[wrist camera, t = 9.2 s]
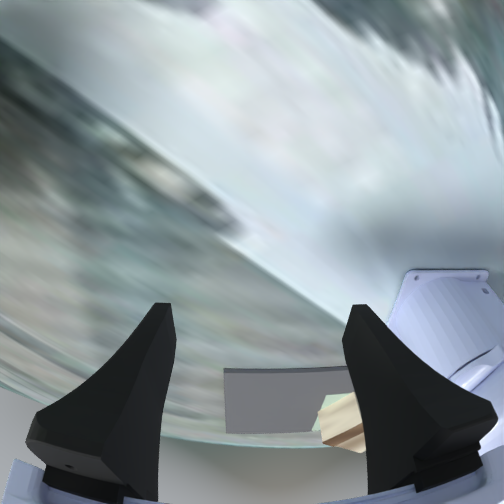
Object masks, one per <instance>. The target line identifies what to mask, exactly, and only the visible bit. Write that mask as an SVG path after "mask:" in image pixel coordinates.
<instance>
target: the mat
mask: <svg viewBox="0 0 504 504" xmlns="http://www.w3.org/2000/svg"><path fill="white" fill-rule="evenodd" d="M352 392H355V390H354V387H353V384H352V381H351V377H350V374H349V371H348V368H347V366H343V367H326V368H304V369H224V395H225V417H226V433H237V434H264V433H293V432H309V431H321V429H320V423H319V417H318V411H320V410H322V409H324V408H325V407H327V406H329V405H331V404H333V403H335V402H336V401H338V400H340V399H342V398H343V397H345V396H347V395H349V394H350V393H352Z"/></svg>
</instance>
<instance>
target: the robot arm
mask: <svg viewBox="0 0 504 504" xmlns="http://www.w3.org/2000/svg"><path fill="white" fill-rule="evenodd" d="M416 276H417V277H416ZM488 276H489V273H488V271H487V270H411V271H409V272H407V273H406V275H405V278H404V280H403V283H402V286H401V289H400V292H399V294H398V297H397V300H396V302H395V305H394V307H393V310H392V313H391V315H390V318H389V320H388V323H387V325H385V323H384V322H383V321H382V320H381V319H380V318H379V317H378V316H377V315H376V314H375V313H374V312H373V311H372V309H371V308H370V307H369V306H368V305H367V304H359V305H352V309H351V312H350V315H349V319H348V322H347V325H346V328H345V332H344V335H343V338H342V343H343V349H344V355H345V361H346V364H347V368H348V371H349V374H350V377H351V381H352V384H353V387H354V390H355V394H356V397H357V400H358V404H359V408H360V412H361V417H362V423H363V430H364V437H365V446H366V456H367V472H368V495H367V496H362V497H357V498H351V499H346V500H340V501H333V502H327V503H318V504H504V304H503V302H502V301H501V300H500V299H499V297H498V296H497V295H496V294H495V292H494V291H493V290H492V289H491V287H490V286H489V285H488V284H487V283H486V281H487V279H488ZM415 277H416V278H415ZM176 340H177V339H176V333H175V327H174V321H173V315H172V309H171V303H155V304H154V305H153V306H152V307H151V309H150V310H149V312H148V313H147V314H146V316H145V317H144V318H143V320H142V321H141V322H140V324H139V325H138V326H137V328H136V329H135V330H134V331H133V333H132V334H131V335H130V336H129V338H128V339H127V340H126V341H125V343H124V344H123V345H122V346H121V347H120V348H119V349H118V350H117V352H116V353H115V354H114V355H113V356H112V357H111V358H110V359H109V360H108V361H107V362H106V363H105V364H104V365H103V366H102V367H101V368H100V369H99V370H98V371H97V372H96V373H94V374H93V375H92V376H91V377H90V378H89V379H87V380H86V381H85V382H84V383H82V384H81V385H80V386H79V387H77V388H76V389H74V390H73V391H72V392H70V393H69V394H67V395H66V396H64V397H63V398H61V399H60V400H58V401H56V402H55V403H53V404H51V405H49V406H47V407H46V408H44V409H42V410H40V411H38V412H37V413H36V414H35V417H34V419H33V421H32V424H31V427H30V430H29V433H28V435H27V438H26V441H25V443H26V445H27V447H28V448H29V449H30V450H31V451H32V452H33V453H34V454H35V455H36V456H37V457H38V458H40V459H41V460H42V461H43V462H44V463H45V464H46V469H45V471H44V470H42V469H40V468H38V467H36V466H33V465H31V464H28V463H25V462H23V461H21V460H18V459H14V461H13V464H12V467H11V470H10V473H9V477H8V480H7V484H6V487H5V491H4V495H3V499H2V503H1V504H167V503H160V502H158V461H159V444H160V432H161V421H162V413H163V408H164V403H165V399H166V394H167V390H168V386H169V381H170V377H171V373H172V368H173V364H174V358H175V349H176Z"/></svg>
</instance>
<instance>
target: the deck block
mask: <svg viewBox="0 0 504 504" xmlns="http://www.w3.org/2000/svg"><path fill="white" fill-rule="evenodd" d="M318 417H319V423H320V429H321V435H322V441H323V444H326V445H329V446H333V447H334V446H338V447H341V448H344V449H348V450H352V451H355V452H359V453H361V452H364V451H366V446H365V437H364V430H363V423H362V417H361V412H360V408H359V404H358V400H357V397H356V394H355V392H352V393H350V394H349V395H347V396H345V397H343V398H342V399H340V400H338V401H336V402H335V403H333V404H331V405H329V406H327V407H325V408H324V409H322V410H320V411H318Z"/></svg>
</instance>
